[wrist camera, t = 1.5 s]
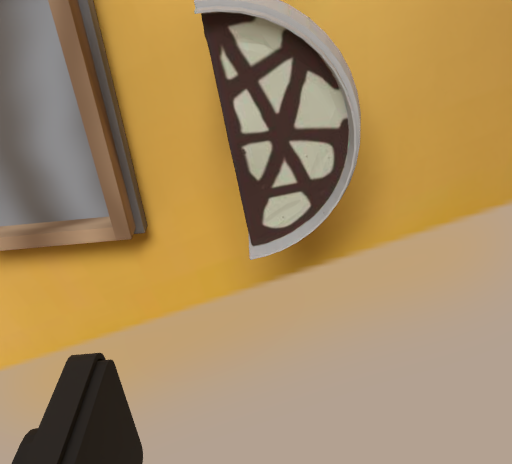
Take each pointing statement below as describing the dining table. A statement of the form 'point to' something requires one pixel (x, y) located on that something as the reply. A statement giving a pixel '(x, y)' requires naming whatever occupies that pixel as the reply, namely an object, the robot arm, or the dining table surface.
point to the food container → (282, 116)
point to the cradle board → (61, 131)
